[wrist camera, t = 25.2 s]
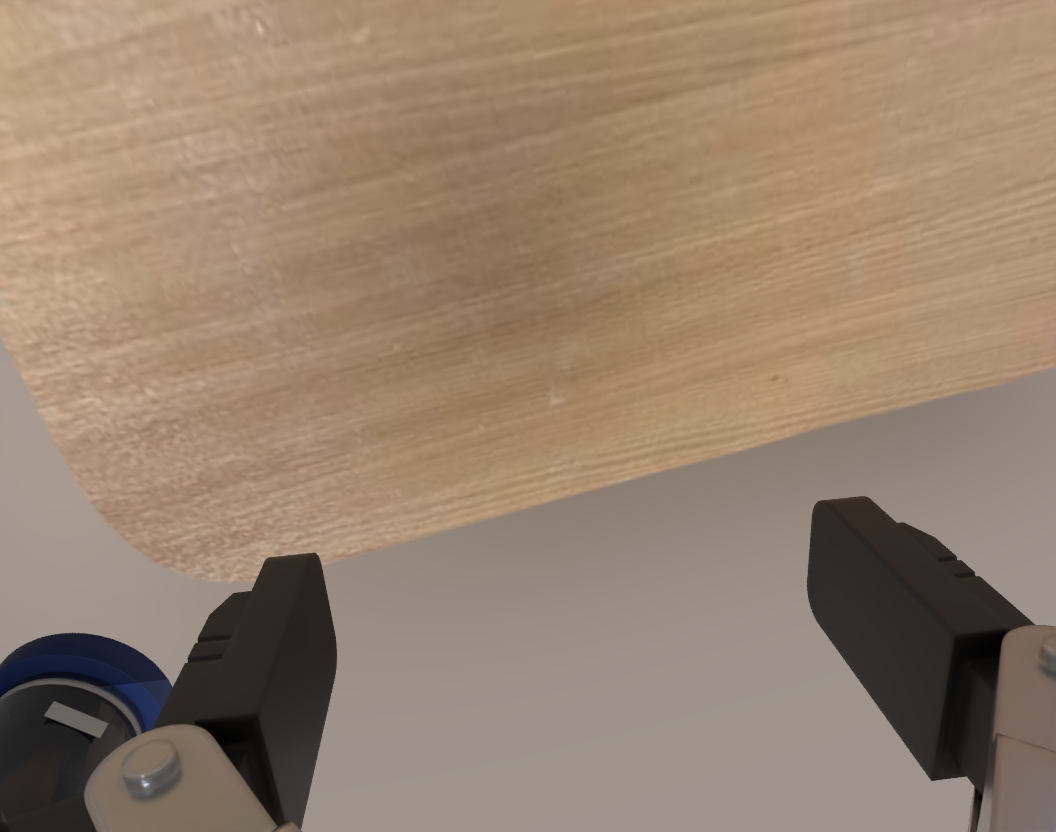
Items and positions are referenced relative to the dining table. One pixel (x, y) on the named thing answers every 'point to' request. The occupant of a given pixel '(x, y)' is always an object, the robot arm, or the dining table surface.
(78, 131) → the dining table surface
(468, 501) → the dining table surface
